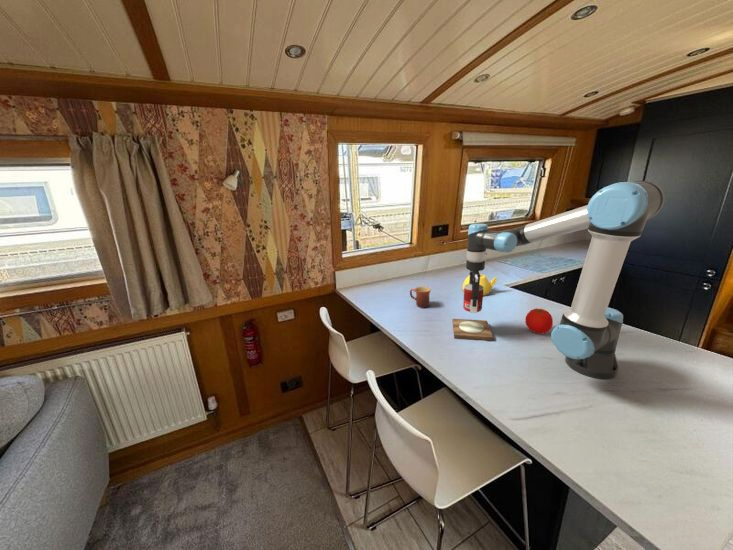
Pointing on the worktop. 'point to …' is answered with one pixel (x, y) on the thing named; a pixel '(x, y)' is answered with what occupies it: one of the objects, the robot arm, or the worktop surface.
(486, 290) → the teapot
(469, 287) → the canned food
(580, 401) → the worktop surface
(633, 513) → the worktop surface
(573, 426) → the worktop surface
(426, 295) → the mug
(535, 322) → the tomato
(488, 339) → the board
